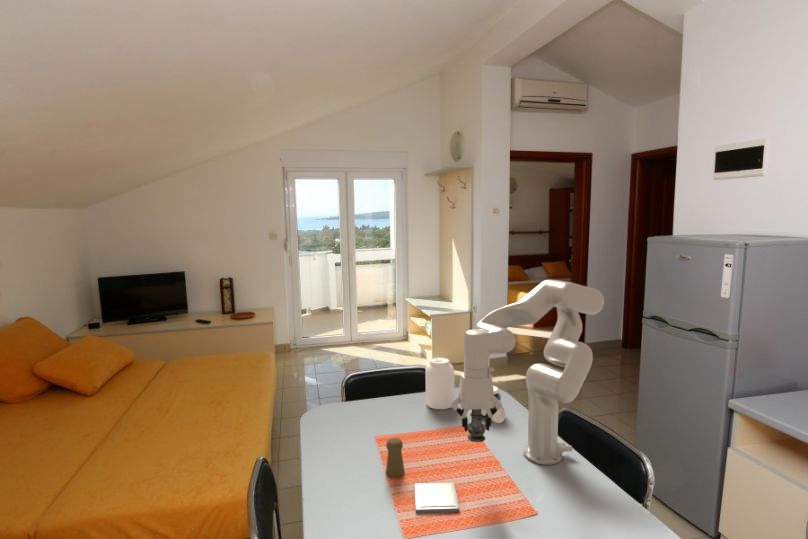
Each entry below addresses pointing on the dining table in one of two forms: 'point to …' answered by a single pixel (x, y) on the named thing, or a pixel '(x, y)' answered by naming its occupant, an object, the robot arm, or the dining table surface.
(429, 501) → the coaster
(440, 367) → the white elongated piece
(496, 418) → the spread jar
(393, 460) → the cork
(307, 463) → the dining table surface
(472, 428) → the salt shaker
